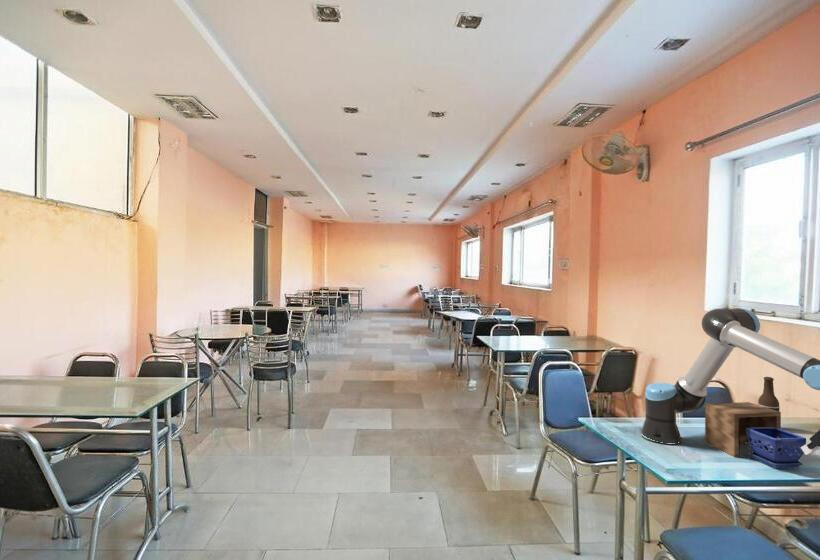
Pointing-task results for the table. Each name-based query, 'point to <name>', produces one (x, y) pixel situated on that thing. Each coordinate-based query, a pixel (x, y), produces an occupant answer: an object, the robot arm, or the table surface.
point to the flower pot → (775, 446)
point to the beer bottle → (768, 395)
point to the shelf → (735, 424)
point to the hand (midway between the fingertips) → (805, 451)
